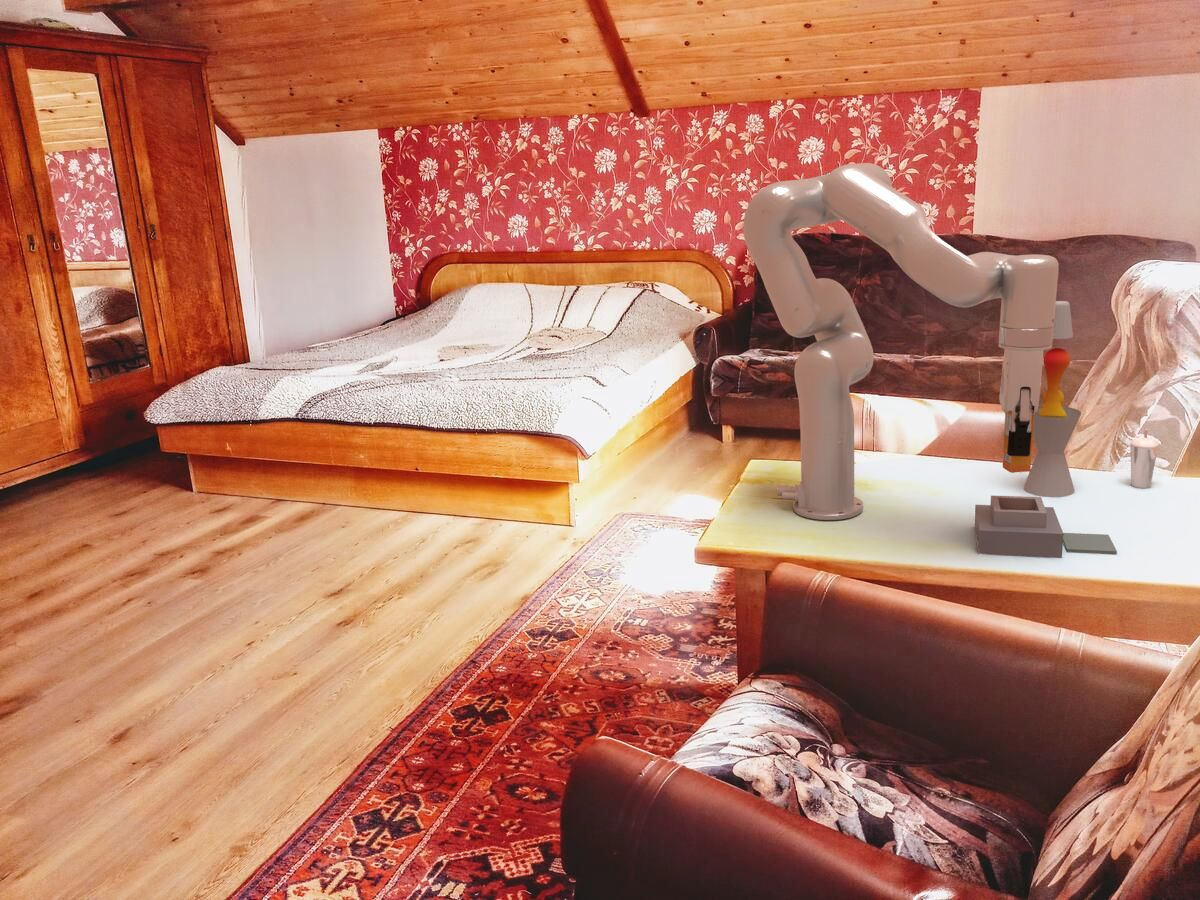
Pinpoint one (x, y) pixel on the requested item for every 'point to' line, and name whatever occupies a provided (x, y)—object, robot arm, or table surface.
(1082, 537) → the rest mat
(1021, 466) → the supplement box
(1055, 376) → the lava lamp
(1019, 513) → the frame
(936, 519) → the table surface
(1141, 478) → the milkshake
